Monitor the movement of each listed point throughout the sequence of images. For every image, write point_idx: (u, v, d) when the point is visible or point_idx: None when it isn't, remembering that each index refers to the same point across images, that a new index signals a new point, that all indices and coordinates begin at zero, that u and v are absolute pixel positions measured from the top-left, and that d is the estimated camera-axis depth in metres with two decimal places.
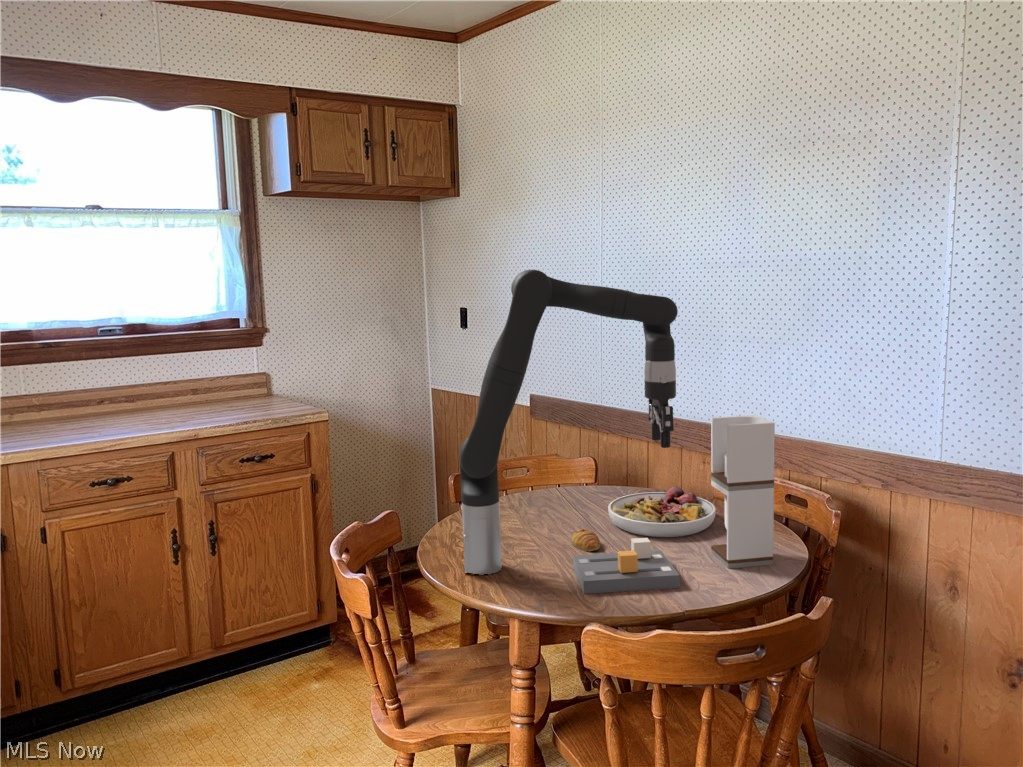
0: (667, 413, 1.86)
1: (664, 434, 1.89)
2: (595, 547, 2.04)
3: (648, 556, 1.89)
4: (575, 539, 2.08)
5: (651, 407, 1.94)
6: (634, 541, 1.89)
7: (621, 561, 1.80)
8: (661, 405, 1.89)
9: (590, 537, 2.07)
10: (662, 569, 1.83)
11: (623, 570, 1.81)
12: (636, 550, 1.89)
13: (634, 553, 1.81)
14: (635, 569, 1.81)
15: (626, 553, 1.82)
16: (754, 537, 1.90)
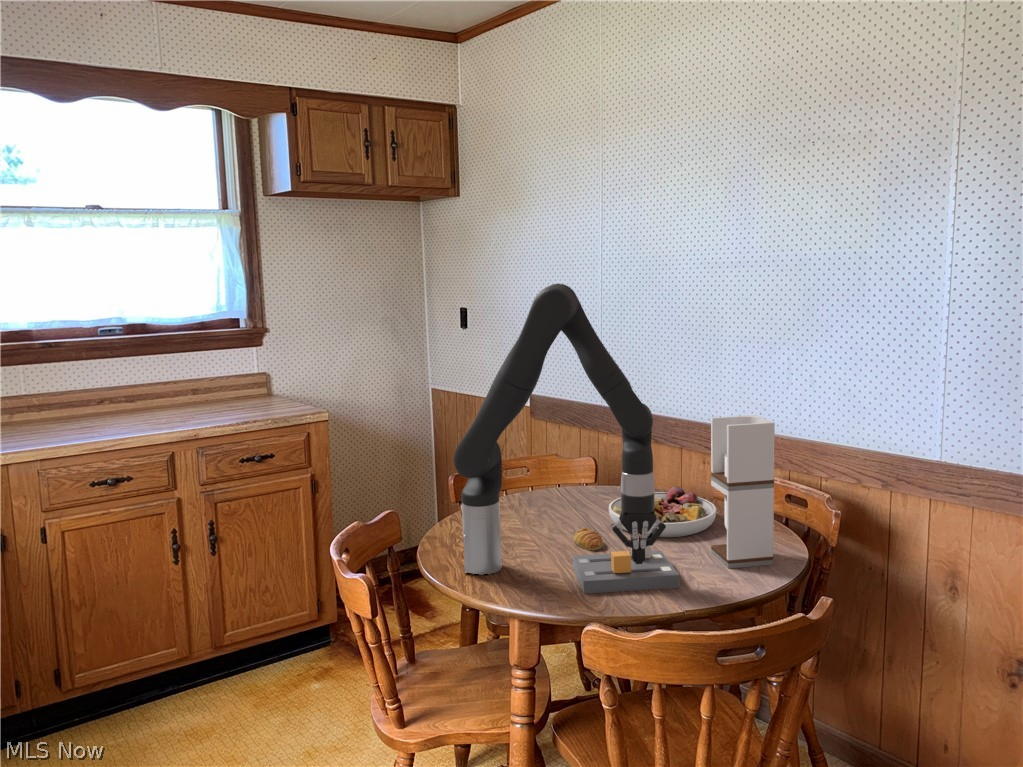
0: None
1: None
2: (598, 546, 2.05)
3: (648, 556, 1.89)
4: (578, 539, 2.09)
5: (635, 523, 1.79)
6: None
7: (614, 561, 1.80)
8: (656, 518, 1.81)
9: (592, 536, 2.08)
10: (662, 569, 1.83)
11: (616, 570, 1.81)
12: None
13: (627, 553, 1.81)
14: (628, 569, 1.81)
15: (619, 553, 1.82)
16: (754, 537, 1.90)
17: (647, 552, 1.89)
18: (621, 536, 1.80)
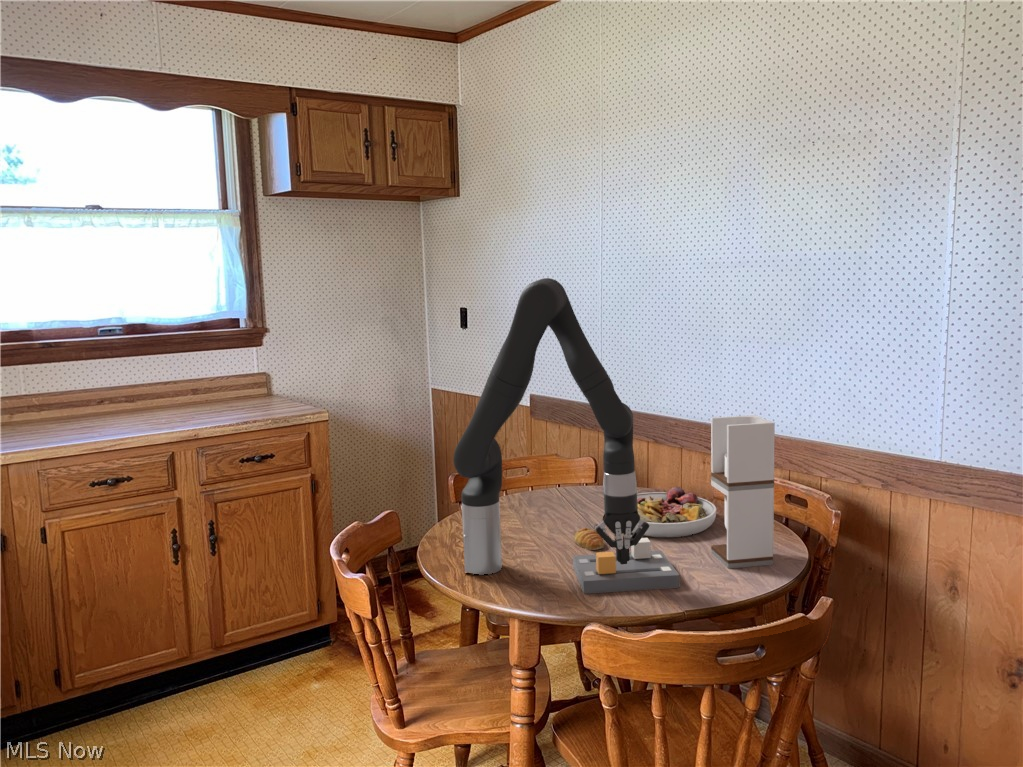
0: None
1: None
2: (599, 546, 2.05)
3: (648, 556, 1.89)
4: (578, 538, 2.09)
5: (618, 523, 1.79)
6: None
7: (599, 562, 1.80)
8: (639, 518, 1.80)
9: (593, 535, 2.08)
10: (662, 569, 1.83)
11: (601, 571, 1.80)
12: (636, 550, 1.89)
13: (612, 554, 1.81)
14: (613, 570, 1.81)
15: (604, 554, 1.81)
16: (754, 537, 1.90)
17: (647, 552, 1.89)
18: (605, 537, 1.80)
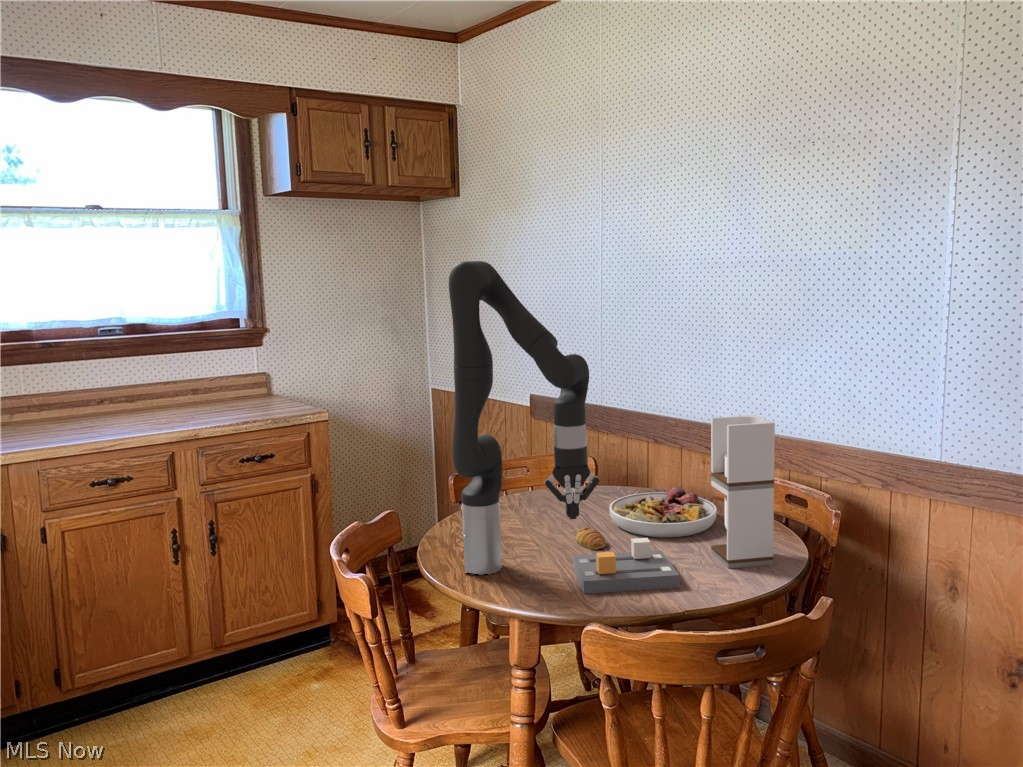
0: None
1: (578, 503, 1.79)
2: (601, 545, 2.05)
3: (648, 556, 1.89)
4: (580, 538, 2.09)
5: (567, 477, 1.76)
6: (634, 541, 1.89)
7: (599, 562, 1.80)
8: None
9: (595, 535, 2.08)
10: (662, 569, 1.83)
11: (601, 571, 1.80)
12: (636, 550, 1.89)
13: (612, 554, 1.81)
14: (613, 570, 1.81)
15: (604, 554, 1.81)
16: (754, 537, 1.90)
17: (647, 552, 1.89)
18: (554, 490, 1.77)
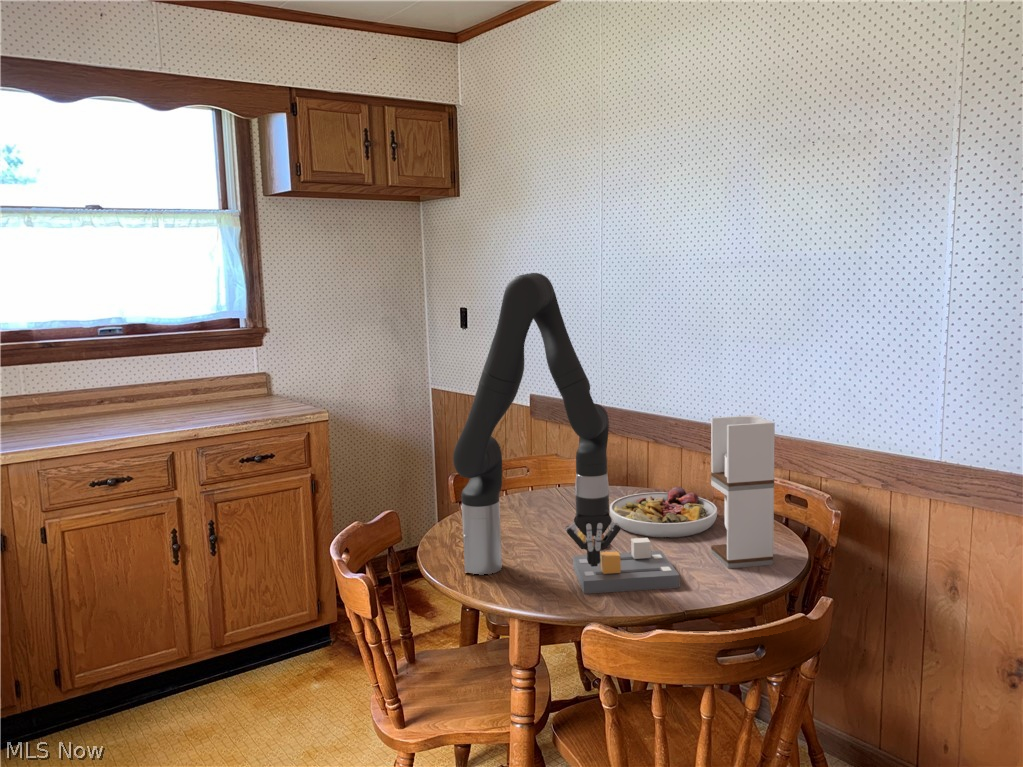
0: None
1: (599, 551, 1.81)
2: None
3: (648, 556, 1.89)
4: (581, 537, 2.09)
5: (589, 525, 1.78)
6: (634, 541, 1.89)
7: (604, 562, 1.80)
8: (611, 520, 1.79)
9: None
10: (662, 569, 1.83)
11: (606, 571, 1.80)
12: (636, 550, 1.89)
13: (617, 554, 1.81)
14: (618, 570, 1.81)
15: (609, 554, 1.82)
16: (754, 537, 1.90)
17: (647, 552, 1.89)
18: (575, 538, 1.79)
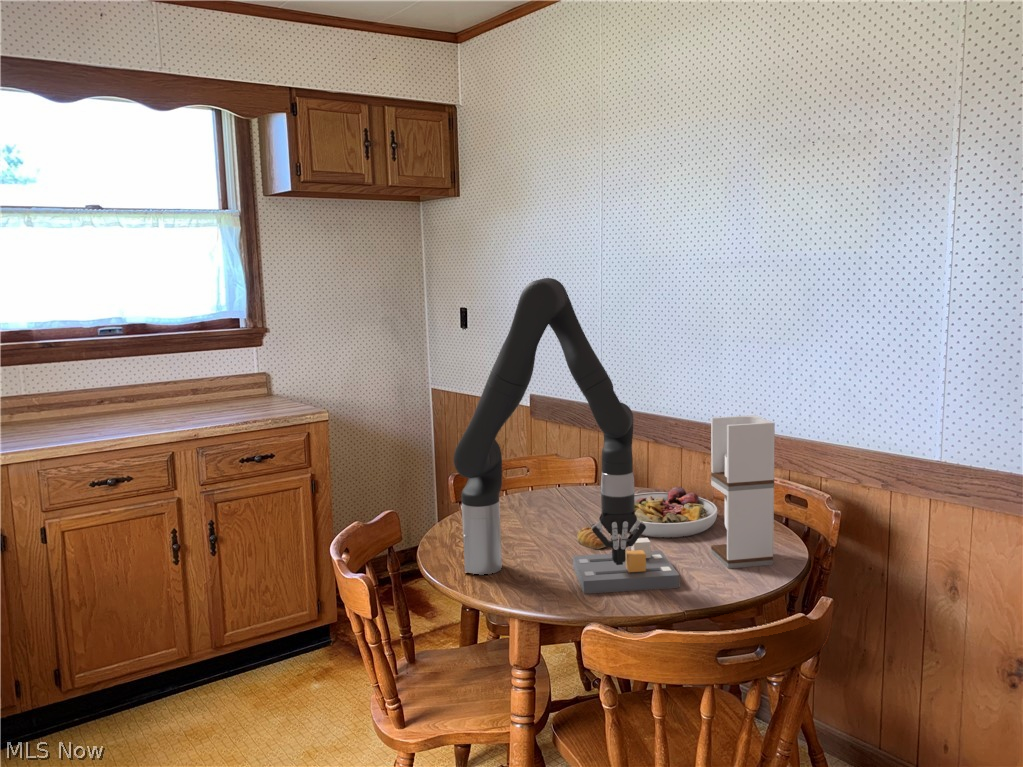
0: None
1: None
2: (603, 544, 2.06)
3: (648, 556, 1.89)
4: (581, 537, 2.09)
5: (614, 524, 1.78)
6: None
7: (629, 560, 1.80)
8: (636, 519, 1.80)
9: None
10: (662, 569, 1.83)
11: (631, 569, 1.81)
12: None
13: (642, 553, 1.82)
14: (643, 568, 1.81)
15: (634, 552, 1.82)
16: (754, 537, 1.90)
17: (647, 552, 1.89)
18: (601, 537, 1.79)
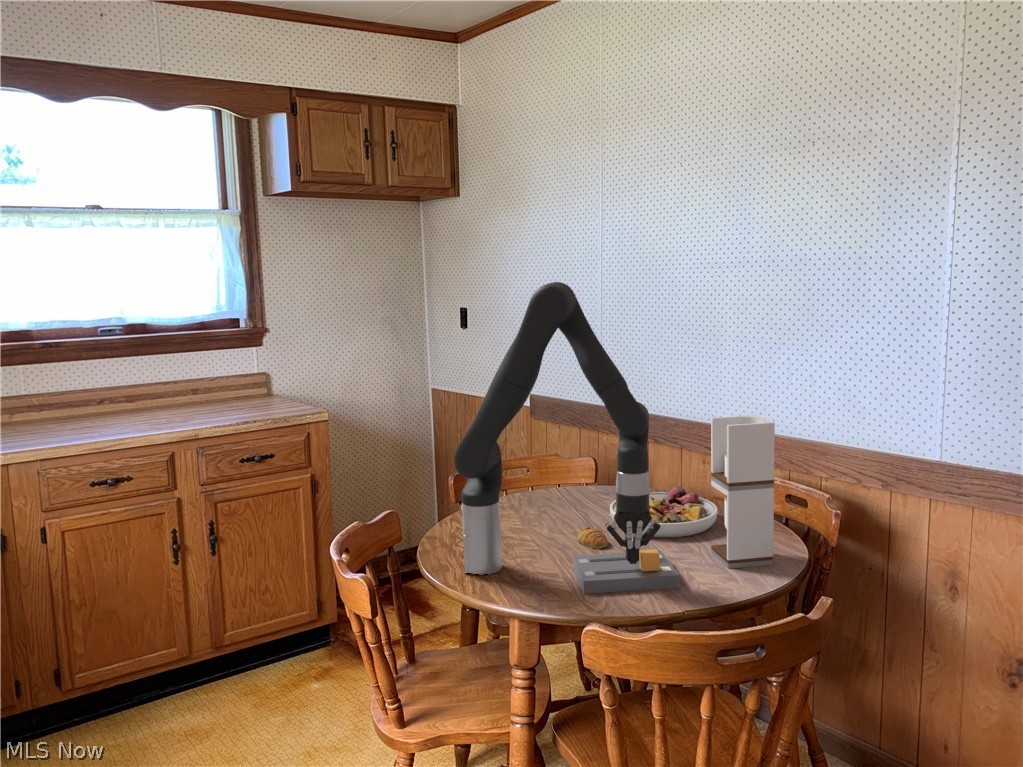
0: None
1: None
2: (603, 544, 2.06)
3: None
4: (582, 537, 2.10)
5: (629, 523, 1.79)
6: None
7: (643, 560, 1.81)
8: (651, 518, 1.80)
9: (597, 534, 2.09)
10: (662, 569, 1.83)
11: (645, 569, 1.81)
12: None
13: (656, 552, 1.82)
14: (657, 568, 1.81)
15: (647, 551, 1.82)
16: (754, 537, 1.90)
17: None
18: (615, 535, 1.80)
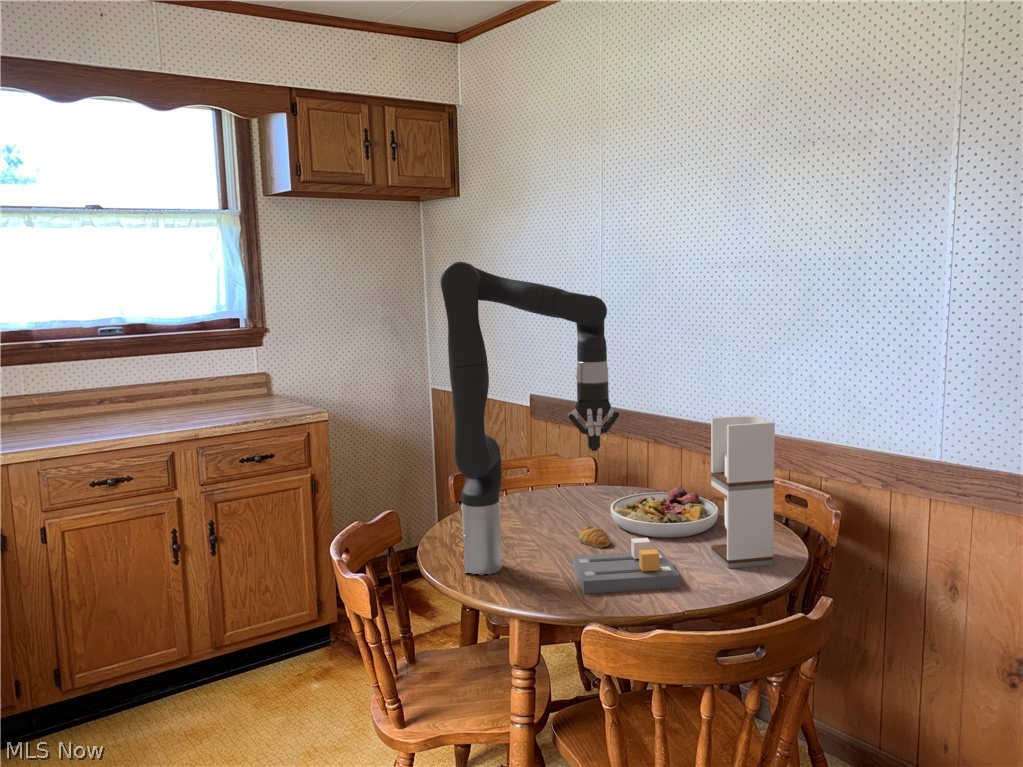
0: None
1: (599, 436, 1.90)
2: (606, 543, 2.07)
3: None
4: (584, 537, 2.10)
5: (589, 410, 1.88)
6: (634, 541, 1.89)
7: (643, 560, 1.81)
8: (610, 406, 1.89)
9: (599, 533, 2.09)
10: (662, 569, 1.83)
11: (645, 569, 1.81)
12: (636, 550, 1.89)
13: (656, 552, 1.82)
14: (657, 568, 1.81)
15: (647, 551, 1.82)
16: (754, 537, 1.90)
17: None
18: (577, 423, 1.89)
